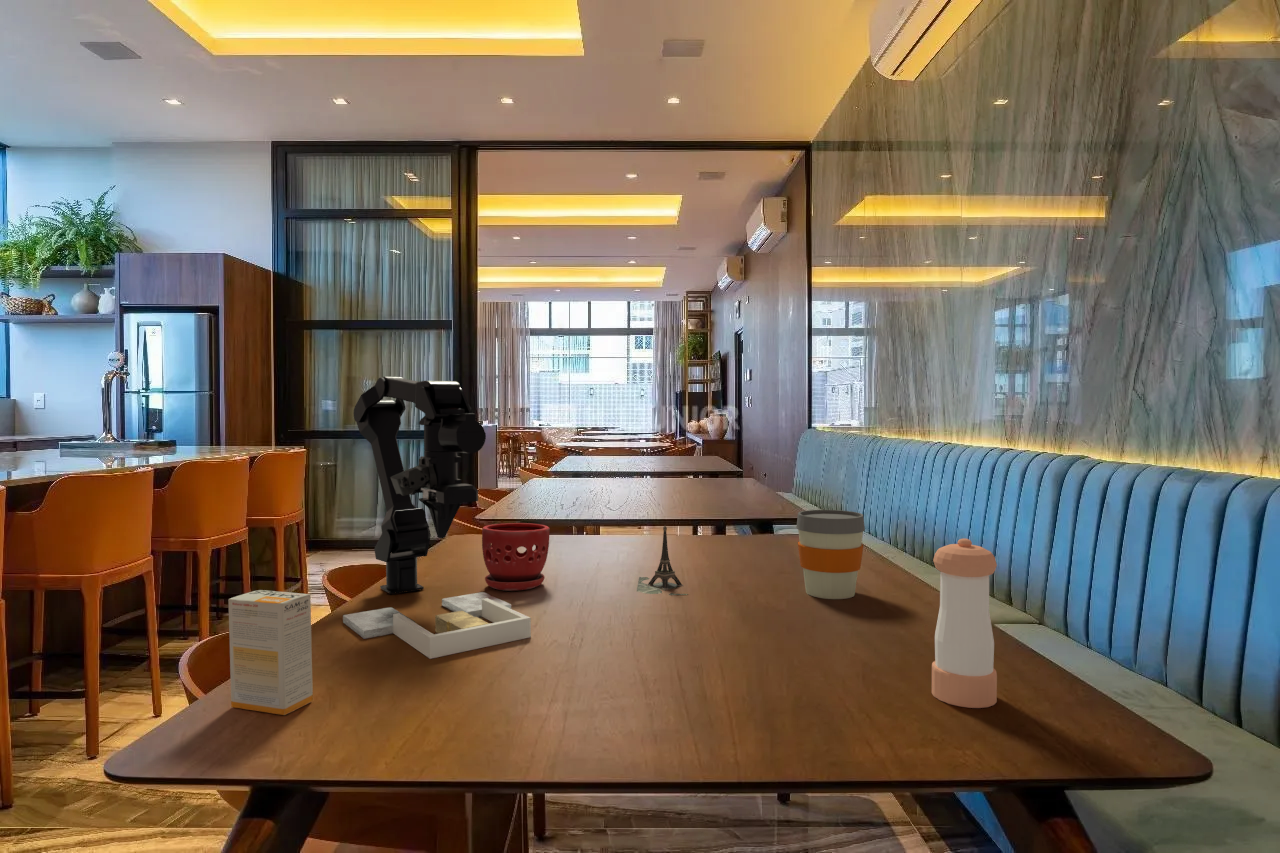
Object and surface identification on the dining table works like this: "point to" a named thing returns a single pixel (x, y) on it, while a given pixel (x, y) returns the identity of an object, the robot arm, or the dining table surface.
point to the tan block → (444, 619)
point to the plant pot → (515, 555)
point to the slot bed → (382, 619)
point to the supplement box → (270, 651)
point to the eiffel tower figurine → (661, 574)
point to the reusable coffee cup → (830, 551)
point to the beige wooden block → (466, 623)
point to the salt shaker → (964, 627)
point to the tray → (466, 632)
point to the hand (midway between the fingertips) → (441, 537)
